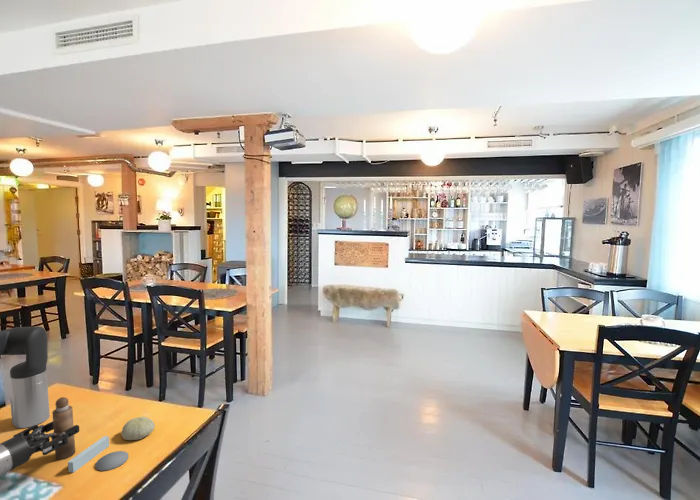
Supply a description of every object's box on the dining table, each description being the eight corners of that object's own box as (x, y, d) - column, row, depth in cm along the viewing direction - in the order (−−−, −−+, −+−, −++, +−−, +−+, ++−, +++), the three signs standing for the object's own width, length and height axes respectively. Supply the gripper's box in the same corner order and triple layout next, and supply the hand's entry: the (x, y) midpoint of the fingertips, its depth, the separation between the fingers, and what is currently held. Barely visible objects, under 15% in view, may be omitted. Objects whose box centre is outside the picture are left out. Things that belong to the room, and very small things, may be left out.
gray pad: (88, 468, 101) (88, 467, 101) (111, 450, 109) (111, 449, 109) (113, 472, 100) (113, 471, 100) (134, 453, 108) (134, 452, 108)
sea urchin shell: (142, 439, 112) (125, 419, 113) (127, 453, 114) (111, 434, 114) (162, 422, 121) (147, 404, 122) (149, 436, 123) (134, 418, 123)
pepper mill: (51, 458, 105) (47, 401, 104) (66, 448, 110) (62, 393, 108) (64, 460, 105) (60, 402, 103) (79, 450, 109) (75, 394, 108)
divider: (68, 471, 100) (68, 461, 100) (104, 445, 112) (104, 436, 112) (73, 472, 100) (72, 462, 100) (109, 445, 112) (108, 436, 111)
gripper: (17, 451, 90) (84, 417, 105) (-17, 439, 95) (52, 408, 110) (19, 479, 91) (86, 442, 106) (-14, 466, 95) (54, 431, 111)
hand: (68, 425), depth 108 cm, fingers open, 8 cm apart
